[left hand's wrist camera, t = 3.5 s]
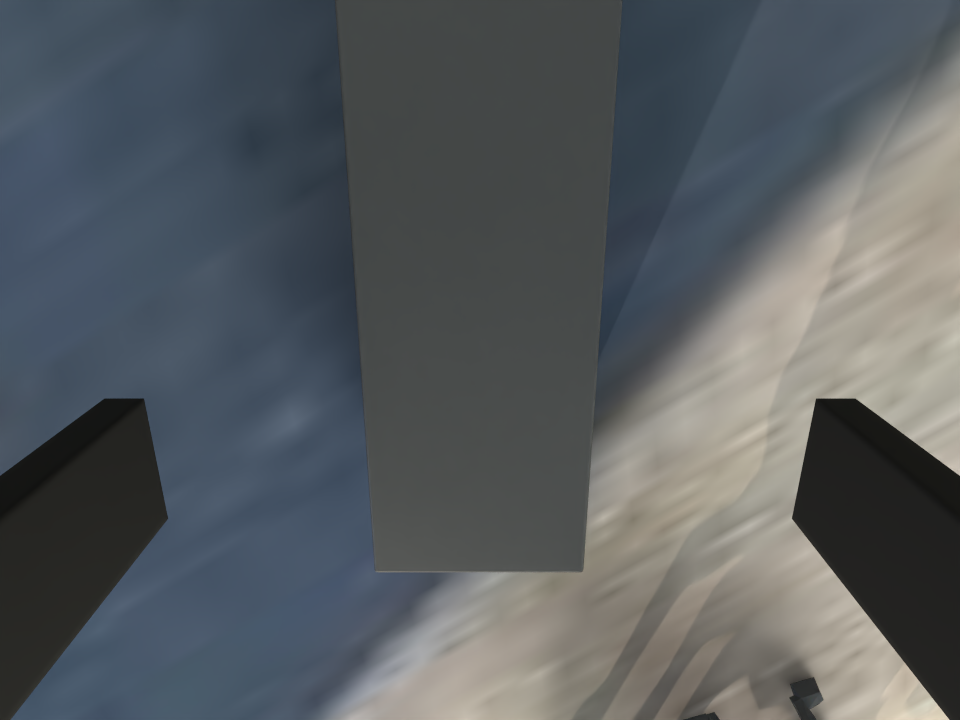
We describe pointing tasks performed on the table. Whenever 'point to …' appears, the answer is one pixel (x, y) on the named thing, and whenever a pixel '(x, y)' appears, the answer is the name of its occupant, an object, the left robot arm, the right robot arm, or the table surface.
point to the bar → (478, 270)
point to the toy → (802, 700)
